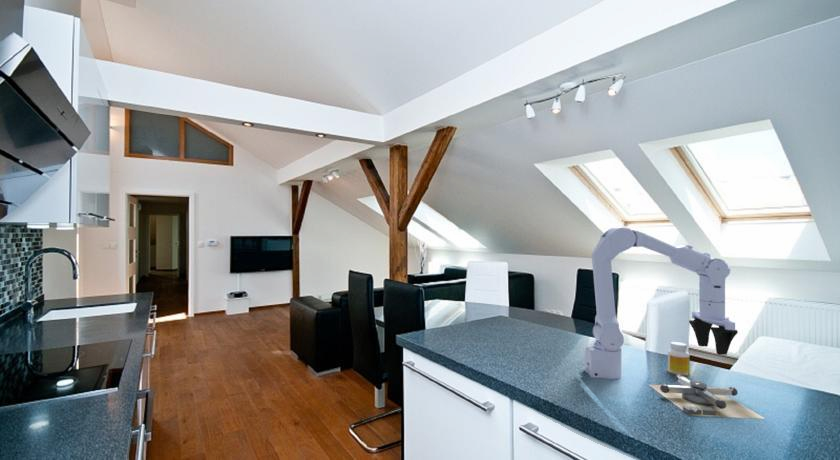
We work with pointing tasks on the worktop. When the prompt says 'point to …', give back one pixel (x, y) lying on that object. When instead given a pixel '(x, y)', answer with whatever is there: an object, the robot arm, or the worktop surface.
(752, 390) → the worktop surface
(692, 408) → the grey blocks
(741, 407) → the stand plate
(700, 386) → the cam capstan
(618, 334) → the robot arm
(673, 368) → the supplement bottle
